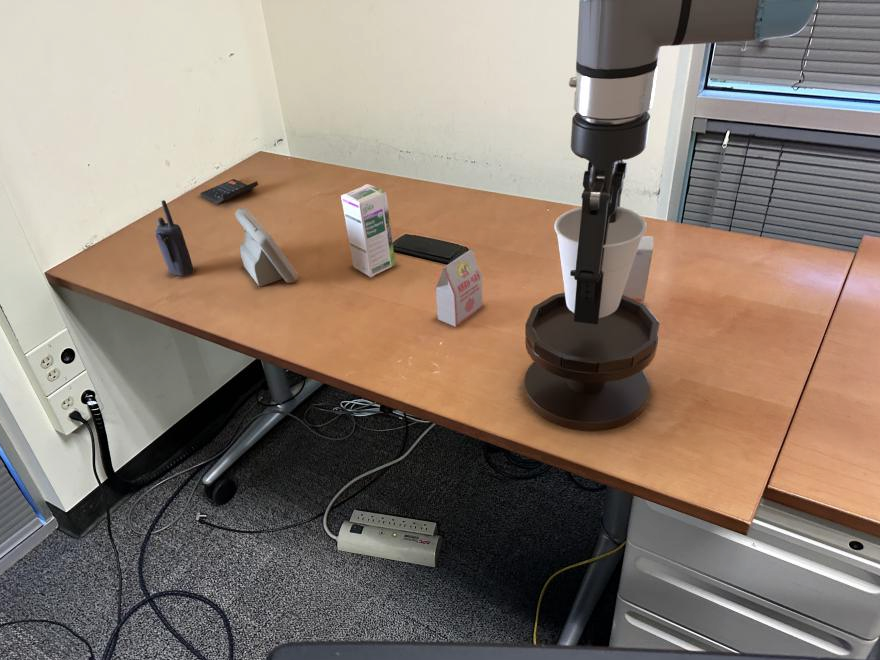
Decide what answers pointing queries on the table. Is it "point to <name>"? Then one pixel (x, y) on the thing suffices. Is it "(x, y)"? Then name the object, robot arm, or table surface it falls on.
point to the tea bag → (459, 290)
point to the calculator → (227, 191)
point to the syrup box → (369, 229)
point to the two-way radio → (173, 245)
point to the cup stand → (589, 364)
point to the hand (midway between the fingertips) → (592, 300)
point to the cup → (616, 254)
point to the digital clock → (262, 253)
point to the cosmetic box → (640, 271)
